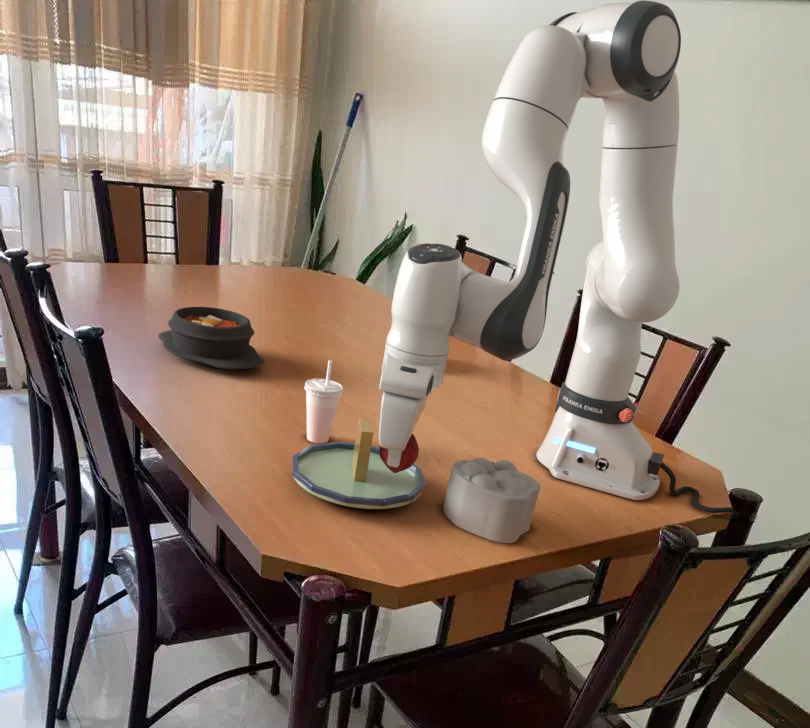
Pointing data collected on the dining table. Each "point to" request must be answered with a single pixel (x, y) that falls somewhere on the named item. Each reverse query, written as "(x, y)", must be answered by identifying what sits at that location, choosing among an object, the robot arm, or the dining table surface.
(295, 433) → the dining table surface
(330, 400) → the smoothie
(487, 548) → the dining table surface
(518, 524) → the lumpy-topped squat cylinder
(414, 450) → the onion
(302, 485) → the plate
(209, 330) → the casserole
